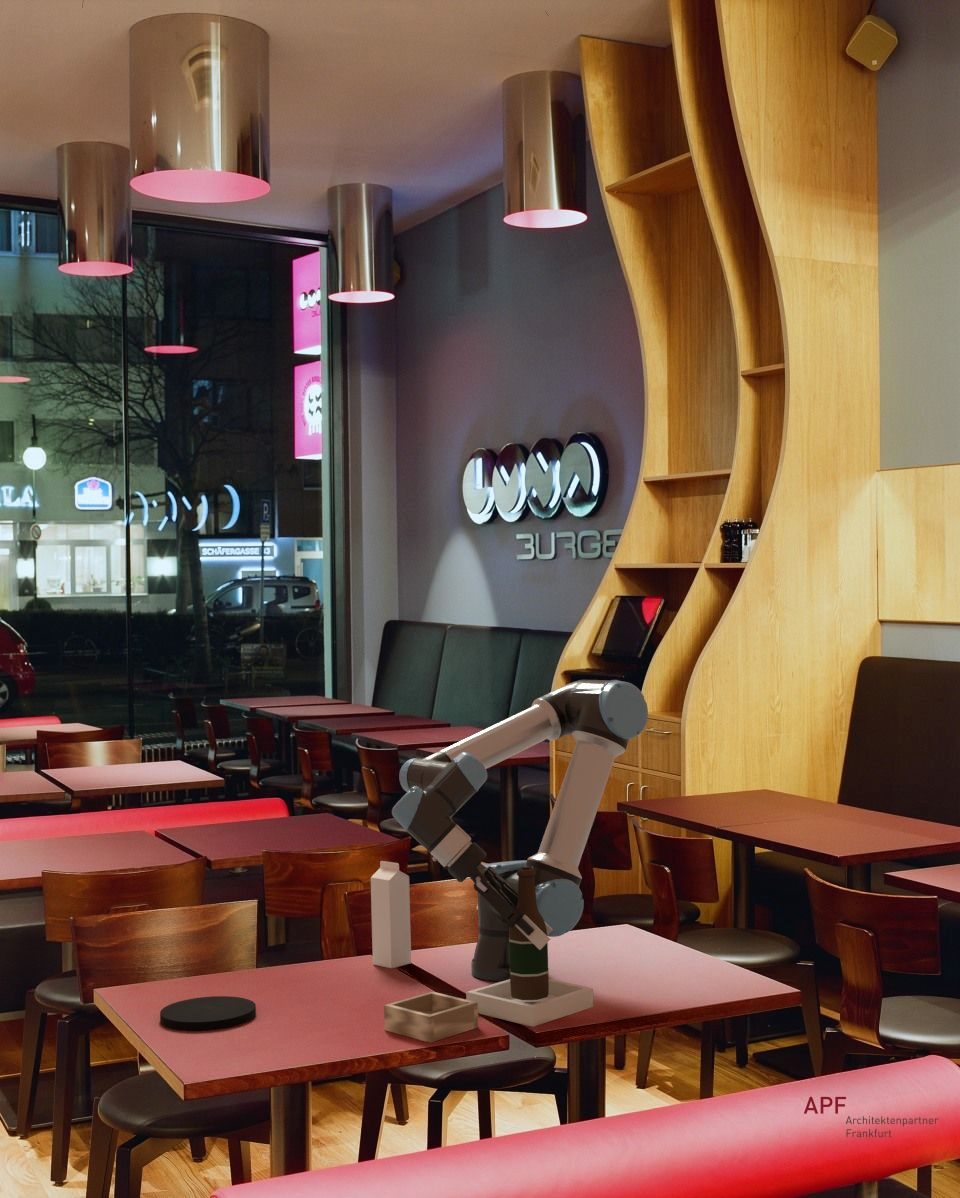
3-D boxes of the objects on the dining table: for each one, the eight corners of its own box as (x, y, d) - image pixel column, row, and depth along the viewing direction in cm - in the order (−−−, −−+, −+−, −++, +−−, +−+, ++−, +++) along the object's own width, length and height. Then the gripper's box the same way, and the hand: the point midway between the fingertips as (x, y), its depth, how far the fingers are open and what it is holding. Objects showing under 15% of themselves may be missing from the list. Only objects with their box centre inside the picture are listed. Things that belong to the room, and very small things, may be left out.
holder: (384, 1030, 255) (384, 1005, 255) (432, 1015, 263) (432, 991, 263) (430, 1042, 246) (429, 1016, 246) (478, 1027, 255) (477, 1002, 255)
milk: (392, 959, 308) (390, 858, 309) (411, 963, 304) (409, 861, 305) (372, 964, 304) (369, 862, 304) (391, 968, 300) (388, 865, 300)
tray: (466, 1010, 266) (466, 991, 266) (527, 991, 278) (527, 974, 278) (532, 1026, 254) (532, 1007, 254) (593, 1006, 266) (592, 988, 266)
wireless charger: (162, 1037, 255) (162, 1026, 255) (158, 1011, 272) (157, 1001, 272) (261, 1027, 260) (260, 1016, 260) (250, 1002, 277) (250, 992, 277)
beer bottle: (503, 999, 264) (499, 871, 264) (517, 988, 271) (514, 864, 272) (542, 1002, 261) (538, 873, 261) (555, 991, 268) (552, 865, 269)
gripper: (453, 859, 278) (536, 941, 276) (438, 878, 258) (528, 967, 256) (479, 832, 278) (563, 914, 276) (466, 849, 258) (556, 937, 256)
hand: (546, 939), depth 266 cm, fingers closed on beer bottle, 7 cm apart
